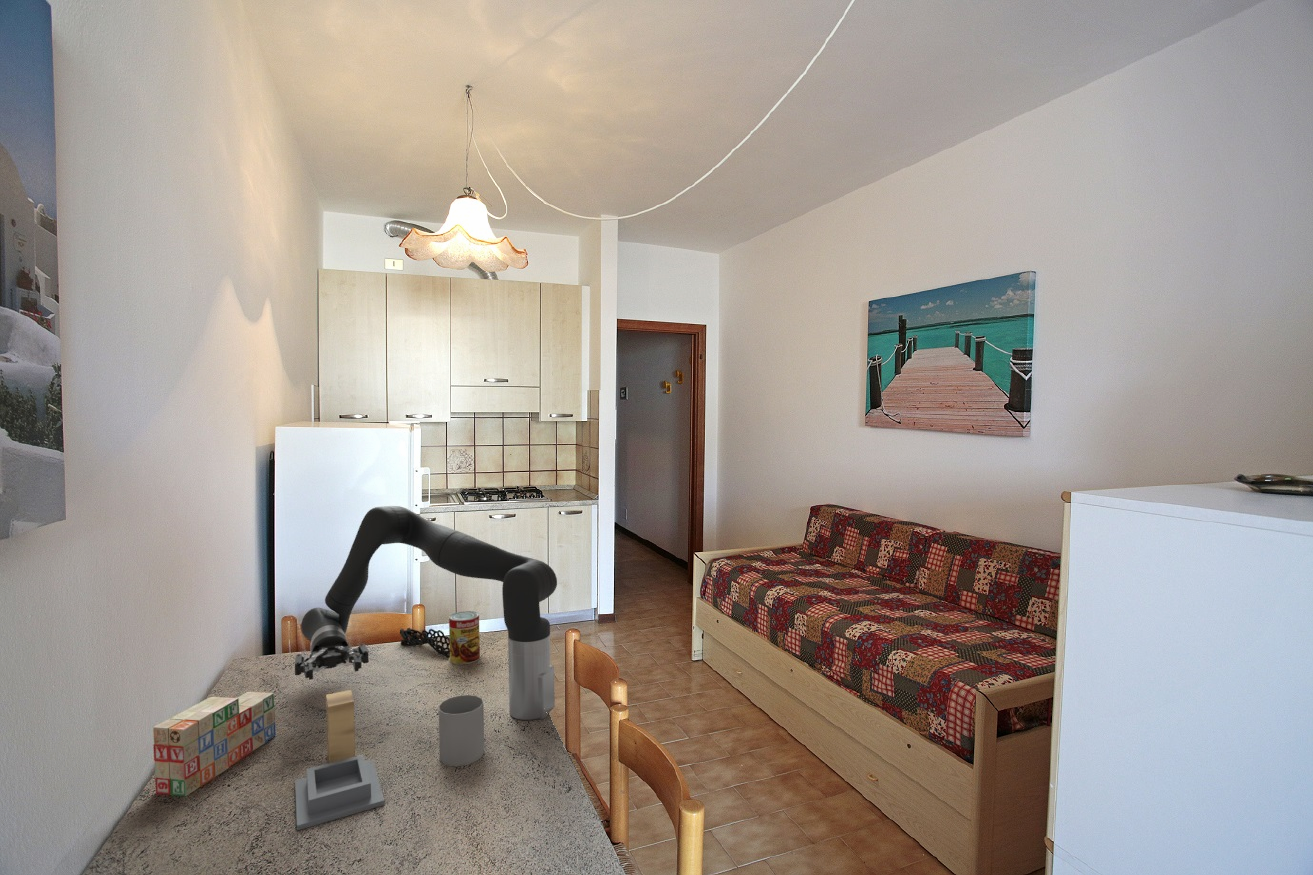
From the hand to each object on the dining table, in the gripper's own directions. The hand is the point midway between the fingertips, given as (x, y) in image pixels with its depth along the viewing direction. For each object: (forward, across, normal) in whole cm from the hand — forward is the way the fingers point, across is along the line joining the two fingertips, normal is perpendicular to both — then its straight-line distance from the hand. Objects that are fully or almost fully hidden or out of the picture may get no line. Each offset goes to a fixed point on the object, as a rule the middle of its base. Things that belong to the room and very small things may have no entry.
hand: (334, 670), depth 133 cm
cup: (+22, +21, +13) cm, 33 cm away
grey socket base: (+24, -1, +13) cm, 28 cm away
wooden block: (+12, 0, +13) cm, 18 cm away
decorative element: (-41, +26, +14) cm, 50 cm away
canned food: (-27, +34, +14) cm, 45 cm away
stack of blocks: (+1, -20, +14) cm, 24 cm away
